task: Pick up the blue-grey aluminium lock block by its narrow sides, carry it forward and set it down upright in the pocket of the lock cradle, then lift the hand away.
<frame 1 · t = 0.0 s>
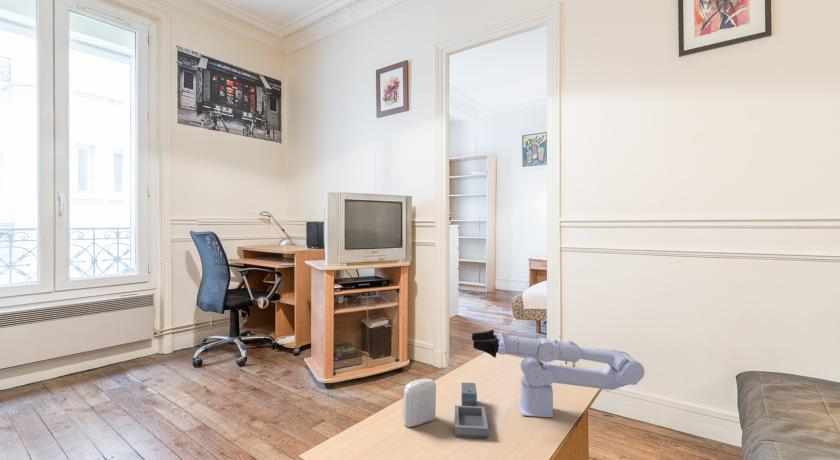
hand: (472, 340, 123), 22 cm above the table, tool horizontal, fingers open, 7 cm apart
photo printer: (419, 422, 114), on the table
lock cradle: (470, 425, 112), on the table
lock block: (468, 406, 124), on the table
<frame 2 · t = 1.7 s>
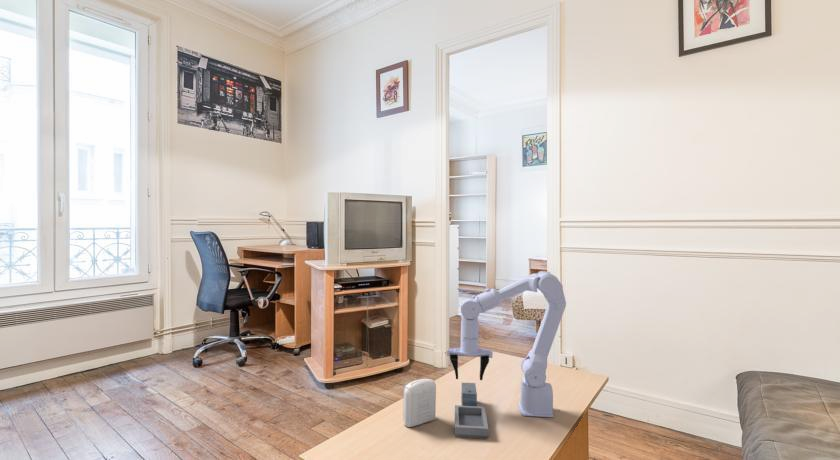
hand: (468, 378, 124), 9 cm above the table, tool pointing down, fingers open, 7 cm apart
nothing on the table moved.
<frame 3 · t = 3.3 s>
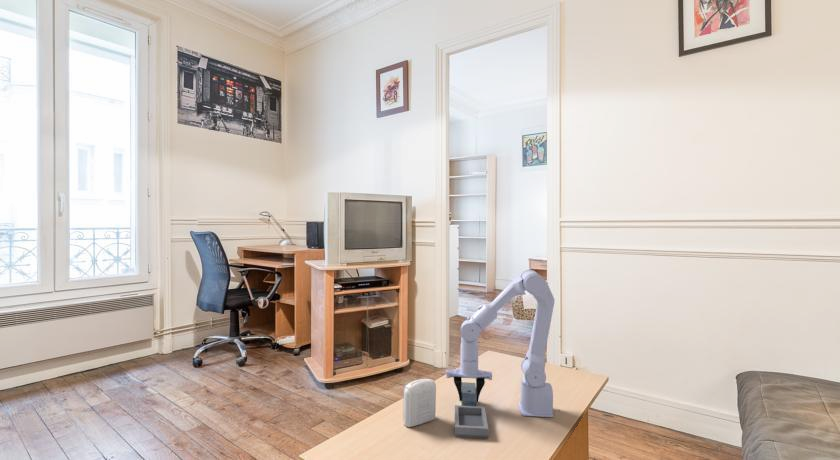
hand: (468, 400, 124), 2 cm above the table, tool pointing down, fingers closed on lock block, 4 cm apart
lock block: (468, 406, 124), on the table, touching gripper
everything else where it was.
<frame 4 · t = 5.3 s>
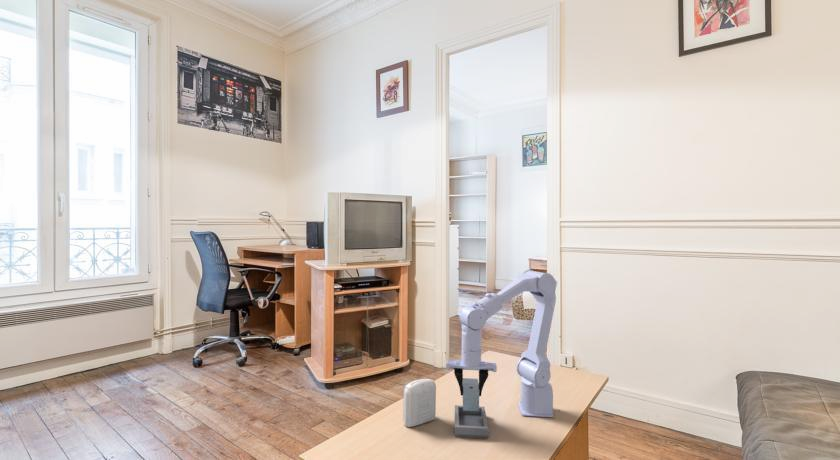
hand: (470, 394, 113), 9 cm above the table, tool pointing down, fingers closed on lock block, 4 cm apart
lock block: (470, 404, 113), point 6 cm above the table, touching gripper
everything else where it was.
when the fingers open (4 cm above the table, at t = 7.2 s): lock block stays where it is, resting on lock cradle.
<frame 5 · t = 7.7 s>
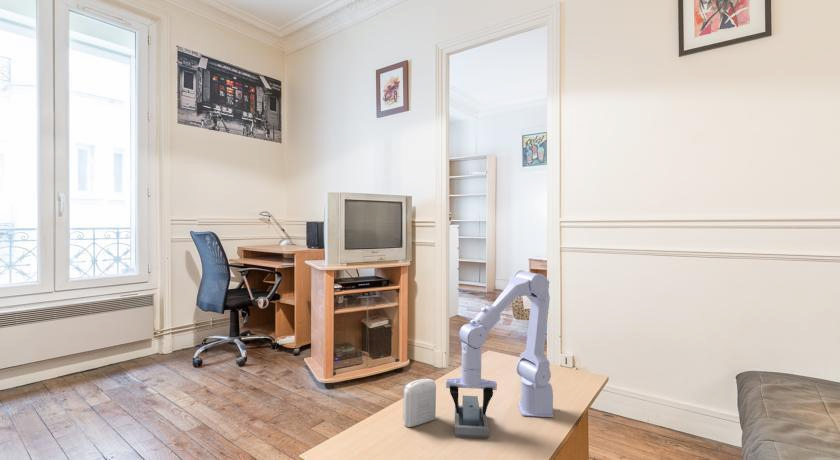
hand: (470, 412, 112), 4 cm above the table, tool pointing down, fingers open, 7 cm apart
lock block: (470, 422, 113), point 1 cm above the table, touching lock cradle
everything else where it was.
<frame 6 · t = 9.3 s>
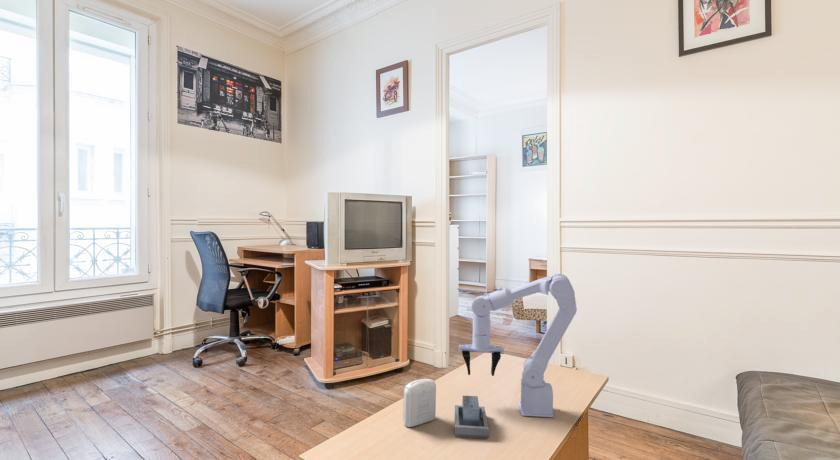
hand: (480, 374, 126), 9 cm above the table, tool pointing down, fingers open, 7 cm apart
nothing on the table moved.
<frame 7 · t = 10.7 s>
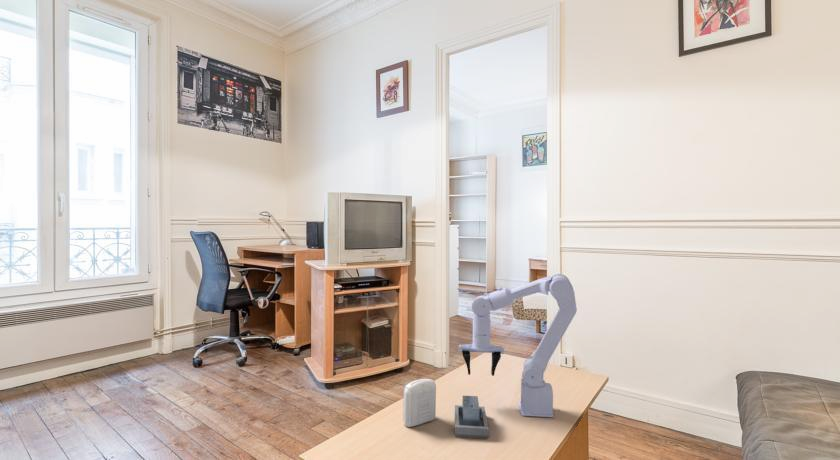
hand: (480, 374, 127), 9 cm above the table, tool pointing down, fingers open, 7 cm apart
nothing on the table moved.
at the end: lock block 0.4 cm off-centre on the lock cradle, point 0.8 cm above the lock cradle's base; lock block tilted 0°; the gripper is holding nothing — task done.
